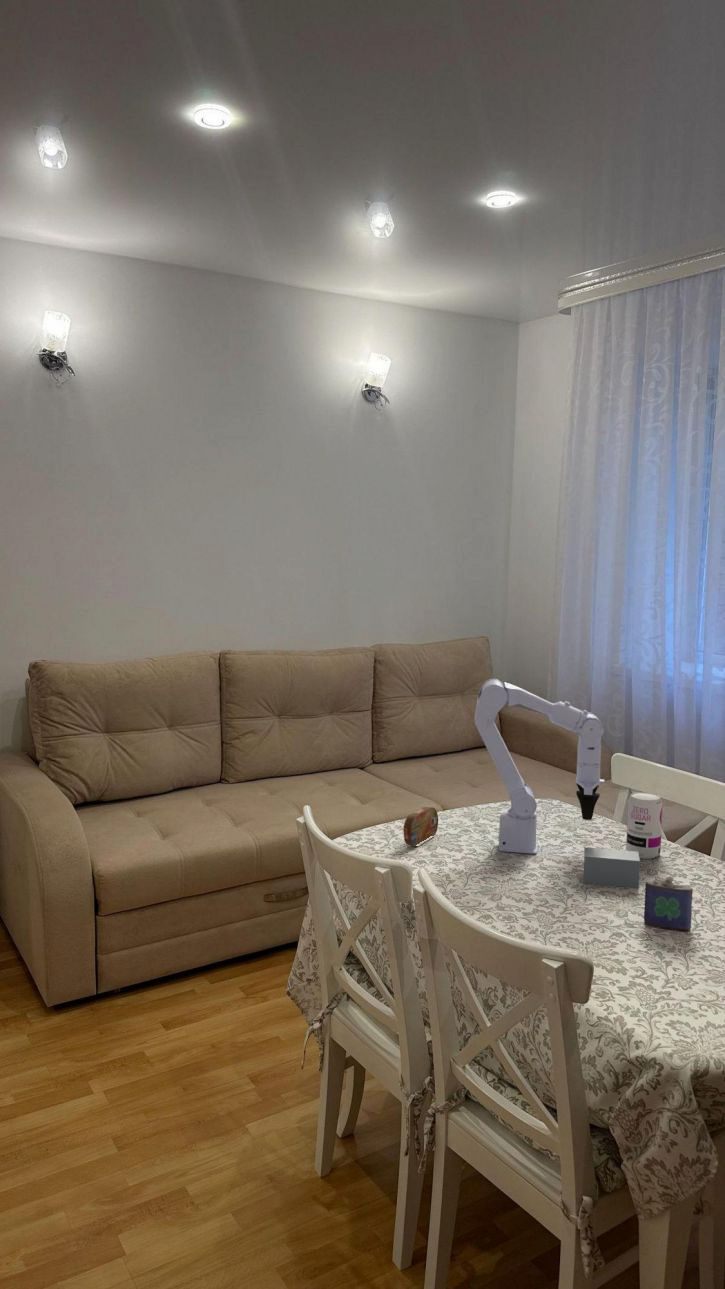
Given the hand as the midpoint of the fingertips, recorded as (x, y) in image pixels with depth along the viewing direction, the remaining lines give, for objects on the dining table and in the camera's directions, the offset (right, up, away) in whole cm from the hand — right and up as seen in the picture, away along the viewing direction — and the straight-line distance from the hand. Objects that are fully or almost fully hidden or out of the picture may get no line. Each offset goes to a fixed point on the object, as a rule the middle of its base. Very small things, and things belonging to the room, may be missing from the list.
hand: (587, 814), depth 230 cm
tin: (-42, -9, +8) cm, 43 cm away
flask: (+6, -15, -43) cm, 46 cm away
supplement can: (+14, -10, -1) cm, 17 cm away
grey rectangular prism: (+1, -12, -18) cm, 22 cm away
